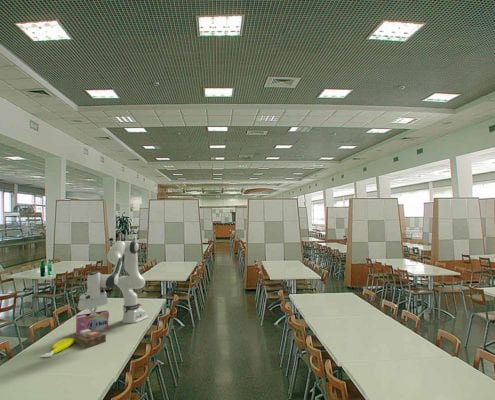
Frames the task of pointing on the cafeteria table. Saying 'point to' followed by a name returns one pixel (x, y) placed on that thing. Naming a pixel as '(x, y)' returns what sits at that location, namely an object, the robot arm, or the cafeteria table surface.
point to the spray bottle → (60, 346)
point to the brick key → (92, 334)
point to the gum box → (92, 321)
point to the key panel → (89, 339)
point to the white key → (85, 332)
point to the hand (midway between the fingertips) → (93, 313)
